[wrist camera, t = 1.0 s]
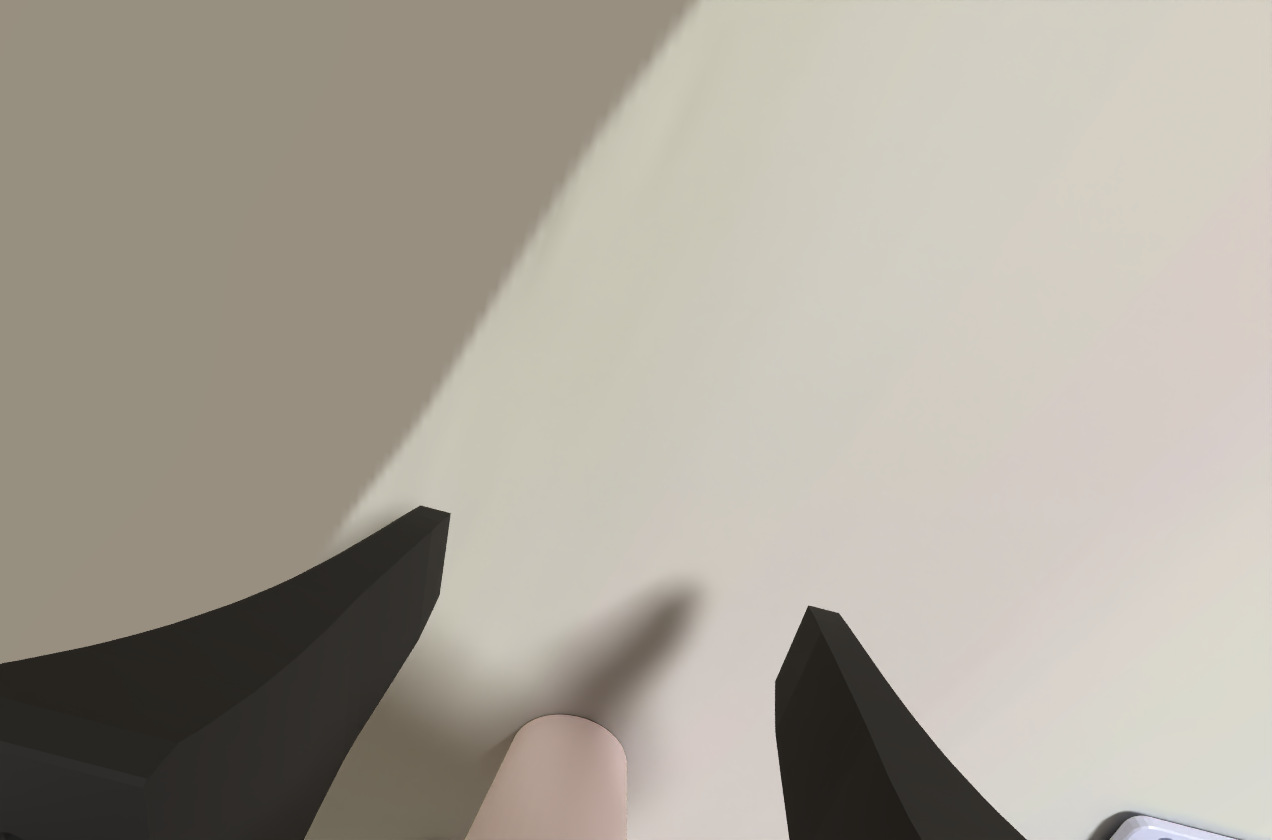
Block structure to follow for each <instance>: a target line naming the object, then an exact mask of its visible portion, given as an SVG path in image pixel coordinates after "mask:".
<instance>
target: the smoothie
mask: <svg viewBox="0 0 1272 840" xmlns="http://www.w3.org/2000/svg"><path fill="white" fill-rule="evenodd" d="M465 840H627V760H626V755H625V752H624V750H623V747H622V746H621V744H620V743H619V741H618V740H617V739H616V738H615V737H614V736H613V735H612V734H611V733H610V732H609V731H608V730H606V729H605V728H604V727H602V726H600V725H599V724H597V723H595V722H592V721H590V720H587V719H584V718H581V717H577V716H572V715H548V716H543V717H540V718H537V719H534V720H532V721H530V722H528V723H527V724H525V725H524V726H523V727H522V728H521V729H520V730H519V731H518V732H517V734H516V735H515V737H514V739H513V741H512V743H511V745H510V747H509V750H508V752H507V754H506V756H505V758H504V760H503V762H502V764H501V766H500V768H499V770H498V772H497V774H496V776H495V778H494V780H493V782H492V785H491V787H490V789H489V791H488V793H487V795H486V797H485V799H484V801H483V803H482V805H481V807H480V809H479V811H478V813H477V815H476V817H475V819H474V822H473V824H472V826H471V828H470V830H469V832H468V834H467V836H466V838H465Z"/></svg>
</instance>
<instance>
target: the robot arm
mask: <svg viewBox="0 0 1272 840" xmlns="http://www.w3.org/2000/svg"><path fill="white" fill-rule="evenodd" d="M450 514H451V513H447V512H443V511H440V510H436V509H432V508H428V507H424V506H419V507H417V508H415V509H414V510H412V511H410V512H408V513H407V514H405V515H403V516H402V517H400V518H399V519H397V520H395V521H394V522H392V523H390V524H389V525H387V526H386V527H384V528H382V529H381V530H379V531H377V532H376V533H374V534H372V535H371V536H369V537H367V538H366V539H364V540H362V541H361V542H359V543H357V544H355V545H354V546H352V547H350V548H348V549H347V550H345V551H343V552H341V553H340V554H338V555H336V556H334V557H333V558H331V559H329V560H327V561H325V562H323V563H321V564H319V565H317V566H315V567H313V568H311V569H309V570H307V571H306V572H304V573H302V574H300V575H298V576H296V577H294V578H292V579H290V580H287V581H285V582H283V583H281V584H279V585H277V586H274V587H272V588H270V589H267V590H265V591H262V592H260V593H258V594H255V595H253V596H251V597H248V598H246V599H243V600H240V601H238V602H235V603H233V604H230V605H227V606H224V607H221V608H219V609H216V610H212V611H209V612H207V613H204V614H201V615H198V616H195V617H192V618H189V619H186V620H183V621H180V622H177V623H174V624H171V625H168V626H164V627H161V628H157V629H154V630H150V631H147V632H143V633H140V634H136V635H132V636H128V637H124V638H120V639H116V640H112V641H109V642H105V643H101V644H96V645H92V646H88V647H83V648H78V649H74V650H69V651H64V652H58V653H54V654H49V655H44V656H39V657H35V658H29V659H24V660H19V661H13V662H7V663H2V664H0V840H304V838H305V836H306V834H307V832H308V830H309V828H310V826H311V824H312V822H313V820H314V818H315V816H316V813H317V811H318V810H319V808H320V806H321V804H322V802H323V800H324V798H325V796H326V794H327V792H328V790H329V788H330V786H331V784H332V782H333V780H334V778H335V776H336V774H337V772H338V770H339V768H340V766H341V764H342V762H343V760H344V759H345V757H346V755H347V753H348V752H349V750H350V748H351V747H352V745H353V743H354V741H355V740H356V738H357V736H358V735H359V733H360V732H361V730H362V728H363V727H364V725H365V724H366V722H367V721H368V719H369V717H370V716H371V714H372V713H373V711H374V710H375V708H376V706H377V705H378V703H379V702H380V700H381V699H382V697H383V695H384V694H385V692H386V691H387V689H388V688H389V686H390V684H391V683H392V681H393V680H394V678H395V677H396V675H397V673H398V672H399V670H400V669H401V667H402V665H403V664H404V662H405V661H406V659H407V657H408V656H409V654H410V653H411V651H412V649H413V648H414V646H415V645H416V643H417V641H418V640H419V638H420V635H421V633H422V631H423V629H424V627H425V625H426V623H427V621H428V619H429V617H430V615H431V612H432V610H433V608H434V606H435V604H436V602H437V599H438V597H439V595H440V588H441V580H442V573H443V566H444V558H445V551H446V544H447V536H448V529H449V522H450ZM775 732H776V741H777V749H778V757H779V765H780V773H781V780H782V787H783V795H784V802H785V810H786V817H787V824H788V832H789V839H790V840H1026V839H1025V838H1024V837H1023V836H1022V835H1021V834H1020V833H1019V832H1018V831H1017V830H1016V829H1015V828H1014V827H1013V826H1012V825H1011V824H1010V823H1009V822H1008V821H1006V820H1005V819H1004V818H1003V817H1002V816H1001V815H1000V814H999V813H998V812H997V811H996V810H995V809H994V808H993V807H992V806H991V805H990V804H989V803H988V802H987V801H986V800H985V799H984V798H983V797H982V796H981V794H980V793H979V792H978V791H977V790H976V789H975V788H974V787H973V786H972V785H971V784H970V783H969V781H968V780H967V779H966V778H965V777H964V776H963V775H962V774H961V773H960V772H959V771H958V770H957V769H956V767H955V766H954V765H953V764H952V763H951V762H950V761H949V760H948V758H947V757H946V756H945V755H944V754H943V753H942V751H941V750H940V749H939V748H938V747H937V745H936V744H935V743H934V742H933V741H932V739H931V738H930V737H929V736H928V734H927V733H926V732H925V731H924V729H923V728H922V727H921V726H920V725H919V723H918V722H917V721H916V720H915V718H914V717H913V716H912V714H911V713H910V712H909V710H908V709H907V708H906V707H905V705H904V704H903V703H902V701H901V700H900V699H899V697H898V696H897V695H896V693H895V692H894V690H893V689H892V688H891V686H890V685H889V684H888V682H887V681H886V679H885V678H884V677H883V675H882V674H881V672H880V671H879V670H878V668H877V667H876V665H875V664H874V662H873V661H872V660H871V658H870V657H869V655H868V654H867V652H866V651H865V649H864V648H863V647H862V645H861V644H860V642H859V641H858V639H857V638H856V636H855V635H854V634H853V632H852V631H851V629H850V628H849V626H848V625H847V624H846V622H845V621H844V620H843V618H842V617H841V616H840V614H839V613H836V612H832V611H828V610H824V609H820V608H816V607H812V606H808V608H807V610H806V612H805V615H804V617H803V619H802V621H801V624H800V626H799V628H798V631H797V633H796V635H795V638H794V640H793V642H792V644H791V647H790V649H789V651H788V654H787V656H786V658H785V660H784V663H783V665H782V667H781V670H780V672H779V674H778V677H777V679H776V681H775ZM1110 840H1237V839H1233V838H1229V837H1225V836H1221V835H1218V834H1214V833H1210V832H1206V831H1202V830H1198V829H1194V828H1191V827H1187V826H1183V825H1179V824H1175V823H1171V822H1168V821H1164V820H1160V819H1156V818H1152V817H1148V816H1134V817H1131V818H1129V819H1127V820H1126V821H1125V822H1124V823H1123V824H1122V825H1121V826H1120V828H1119V829H1118V830H1117V831H1116V832H1115V834H1114V835H1113V836H1112V837H1111V838H1110Z"/></svg>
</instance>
